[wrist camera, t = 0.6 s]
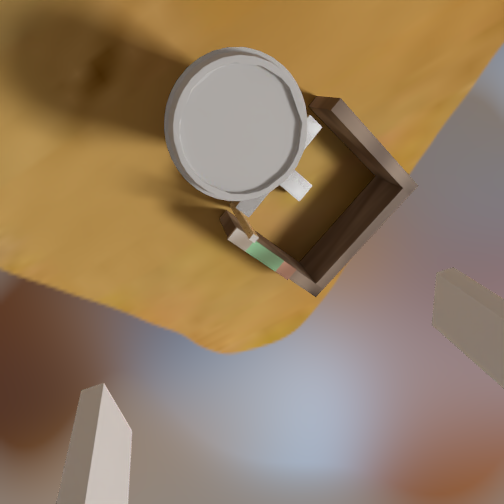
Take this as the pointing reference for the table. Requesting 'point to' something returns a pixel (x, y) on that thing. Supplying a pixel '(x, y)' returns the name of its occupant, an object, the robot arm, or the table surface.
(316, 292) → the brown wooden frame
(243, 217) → the gauge plunger
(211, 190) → the disposable coffee cup
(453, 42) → the table surface
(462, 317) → the robot arm
